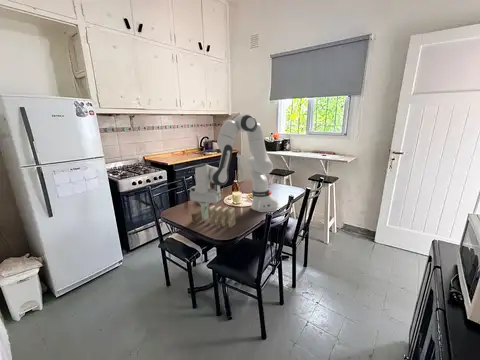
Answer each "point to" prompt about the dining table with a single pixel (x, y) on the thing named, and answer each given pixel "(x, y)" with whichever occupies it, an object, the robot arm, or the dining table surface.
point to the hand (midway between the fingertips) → (204, 208)
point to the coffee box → (217, 188)
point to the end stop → (196, 216)
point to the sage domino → (204, 211)
